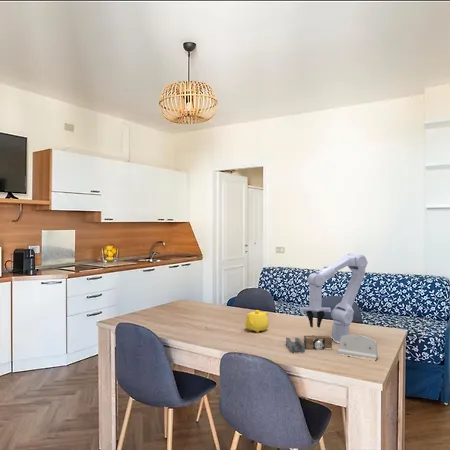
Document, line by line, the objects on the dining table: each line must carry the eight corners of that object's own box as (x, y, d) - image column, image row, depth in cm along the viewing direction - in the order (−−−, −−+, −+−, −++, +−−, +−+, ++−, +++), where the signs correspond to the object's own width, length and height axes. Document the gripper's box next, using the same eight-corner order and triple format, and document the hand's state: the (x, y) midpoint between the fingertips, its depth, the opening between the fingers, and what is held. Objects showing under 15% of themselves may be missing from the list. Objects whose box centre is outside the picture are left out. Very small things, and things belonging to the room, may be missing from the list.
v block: (285, 344, 183) (285, 337, 183) (298, 344, 184) (298, 337, 184) (291, 352, 171) (291, 345, 171) (304, 352, 172) (304, 345, 172)
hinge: (336, 354, 170) (338, 331, 173) (338, 355, 174) (340, 332, 177) (376, 361, 162) (378, 337, 165) (377, 362, 166) (379, 338, 169)
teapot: (252, 336, 196) (253, 315, 196) (237, 331, 204) (237, 311, 204) (274, 329, 209) (274, 309, 209) (258, 325, 217) (259, 306, 217)
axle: (309, 343, 186) (309, 335, 186) (317, 343, 187) (317, 335, 187) (315, 350, 176) (315, 341, 176) (323, 349, 177) (323, 341, 177)
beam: (303, 346, 181) (304, 335, 181) (328, 346, 182) (329, 335, 182) (306, 349, 177) (306, 338, 177) (331, 349, 178) (331, 338, 178)
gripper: (302, 300, 180) (302, 329, 180) (333, 300, 181) (332, 329, 181) (298, 297, 187) (298, 325, 187) (328, 297, 188) (327, 325, 188)
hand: (314, 326), depth 184 cm, fingers open, 3 cm apart
